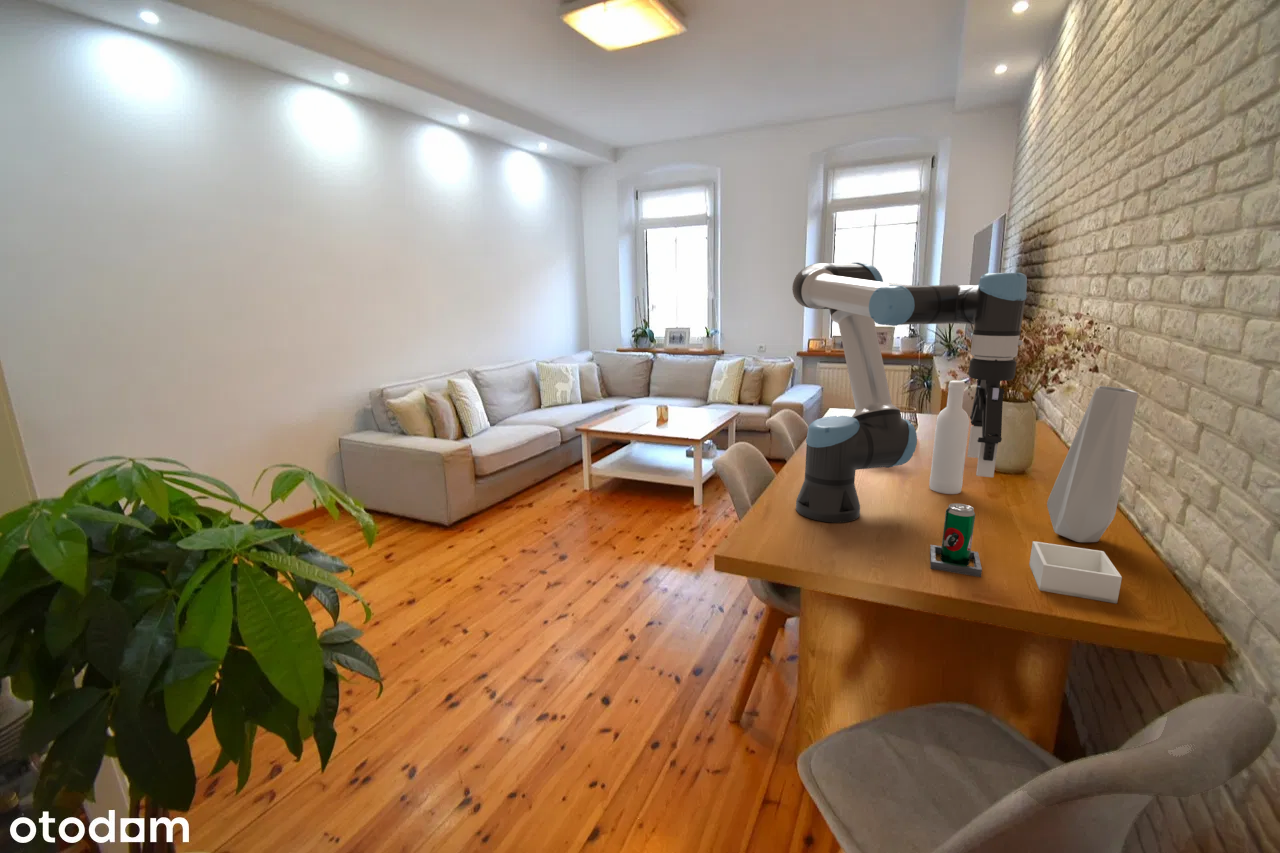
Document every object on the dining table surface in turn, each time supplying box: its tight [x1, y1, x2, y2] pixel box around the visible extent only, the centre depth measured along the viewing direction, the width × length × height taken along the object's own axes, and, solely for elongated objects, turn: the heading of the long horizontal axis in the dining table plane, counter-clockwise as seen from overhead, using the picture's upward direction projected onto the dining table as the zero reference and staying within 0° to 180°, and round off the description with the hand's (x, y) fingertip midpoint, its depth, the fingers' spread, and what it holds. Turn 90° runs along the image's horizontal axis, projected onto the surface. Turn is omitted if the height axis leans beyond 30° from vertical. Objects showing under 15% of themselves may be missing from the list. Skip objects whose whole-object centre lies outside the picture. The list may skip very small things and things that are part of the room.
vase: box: [1046, 385, 1139, 543], centre depth 122 cm, size 12×12×33 cm
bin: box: [1028, 540, 1123, 604], centre depth 106 cm, size 11×11×5 cm
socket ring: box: [929, 544, 983, 578], centre depth 114 cm, size 9×9×2 cm
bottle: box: [928, 380, 970, 495], centre depth 154 cm, size 8×8×30 cm
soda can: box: [939, 503, 976, 566], centre depth 113 cm, size 5×5×12 cm
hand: (979, 466), depth 113 cm, fingers open, 13 cm apart
